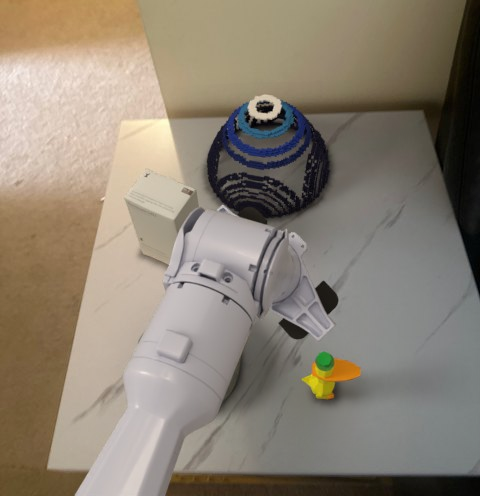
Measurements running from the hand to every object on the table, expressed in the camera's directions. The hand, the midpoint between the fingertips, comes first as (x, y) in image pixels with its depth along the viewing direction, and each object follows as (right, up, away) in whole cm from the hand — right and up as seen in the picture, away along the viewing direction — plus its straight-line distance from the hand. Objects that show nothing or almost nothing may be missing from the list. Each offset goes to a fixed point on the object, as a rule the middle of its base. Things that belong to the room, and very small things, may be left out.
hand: (284, 273), depth 58 cm
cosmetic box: (-14, -1, +28) cm, 31 cm away
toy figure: (+6, -17, +13) cm, 23 cm away
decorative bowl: (0, +11, +36) cm, 37 cm away
